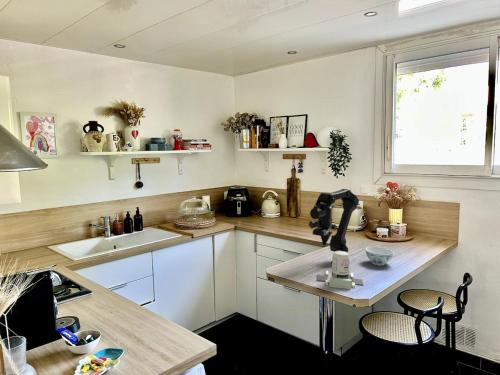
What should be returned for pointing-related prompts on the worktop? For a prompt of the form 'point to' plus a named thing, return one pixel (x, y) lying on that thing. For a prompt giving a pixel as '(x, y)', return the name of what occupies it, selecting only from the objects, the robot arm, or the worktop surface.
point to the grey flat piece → (340, 281)
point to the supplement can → (341, 265)
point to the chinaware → (379, 255)
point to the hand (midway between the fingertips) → (324, 245)
